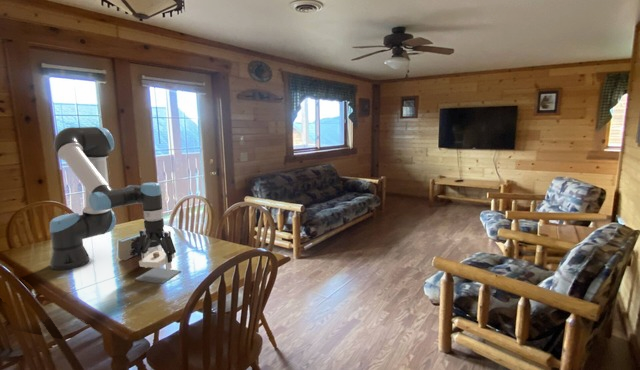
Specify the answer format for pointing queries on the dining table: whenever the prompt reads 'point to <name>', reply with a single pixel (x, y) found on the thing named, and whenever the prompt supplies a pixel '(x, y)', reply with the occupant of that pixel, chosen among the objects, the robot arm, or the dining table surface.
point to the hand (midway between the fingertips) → (158, 267)
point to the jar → (154, 247)
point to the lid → (154, 259)
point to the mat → (158, 275)
